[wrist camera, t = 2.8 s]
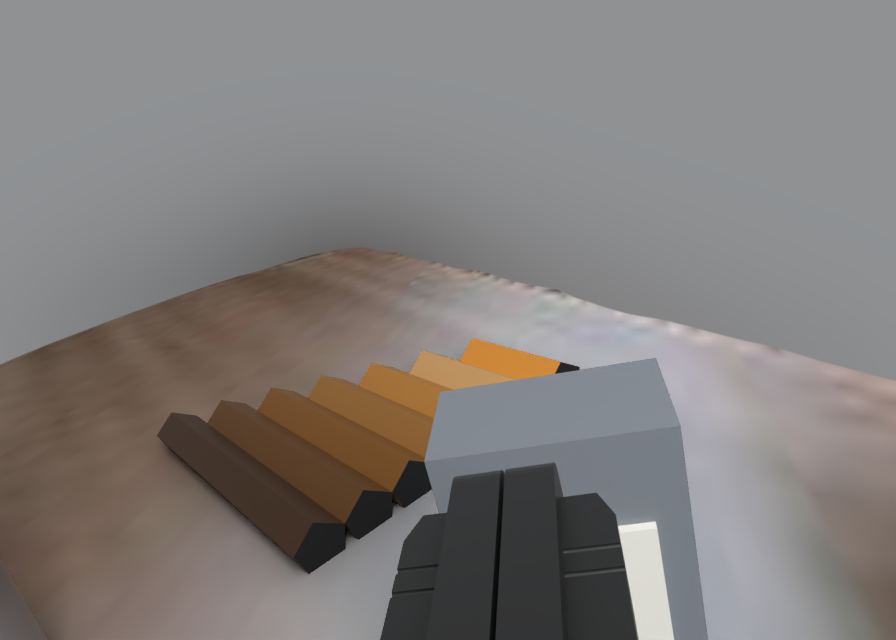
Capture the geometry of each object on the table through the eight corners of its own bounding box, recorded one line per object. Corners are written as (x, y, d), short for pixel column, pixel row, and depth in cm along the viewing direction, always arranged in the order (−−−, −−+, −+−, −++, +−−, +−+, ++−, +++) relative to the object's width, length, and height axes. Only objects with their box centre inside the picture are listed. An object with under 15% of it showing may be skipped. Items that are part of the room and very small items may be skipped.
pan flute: (166, 456, 61) (304, 586, 42) (150, 422, 60) (286, 539, 41) (397, 334, 74) (583, 391, 55) (389, 304, 73) (576, 351, 54)
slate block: (733, 828, 25) (682, 431, 19) (530, 836, 26) (422, 467, 20) (705, 715, 28) (655, 357, 23) (529, 727, 30) (440, 391, 24)
